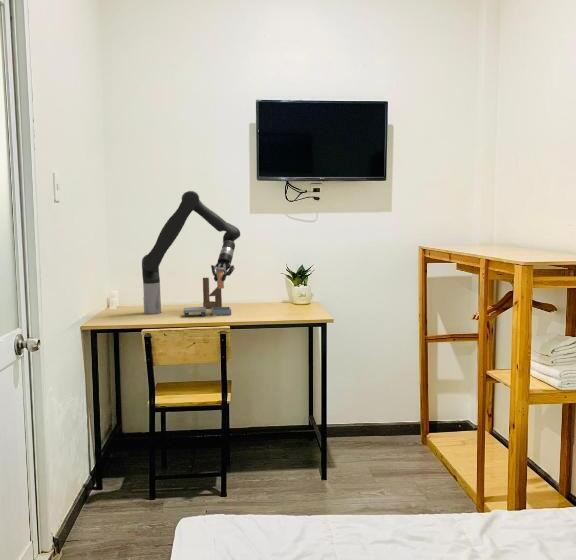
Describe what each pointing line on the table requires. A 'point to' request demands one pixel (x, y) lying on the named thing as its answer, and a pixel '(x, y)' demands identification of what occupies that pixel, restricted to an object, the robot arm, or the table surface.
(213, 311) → the tray
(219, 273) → the stop pin
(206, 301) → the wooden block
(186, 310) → the trolley
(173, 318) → the table surface
